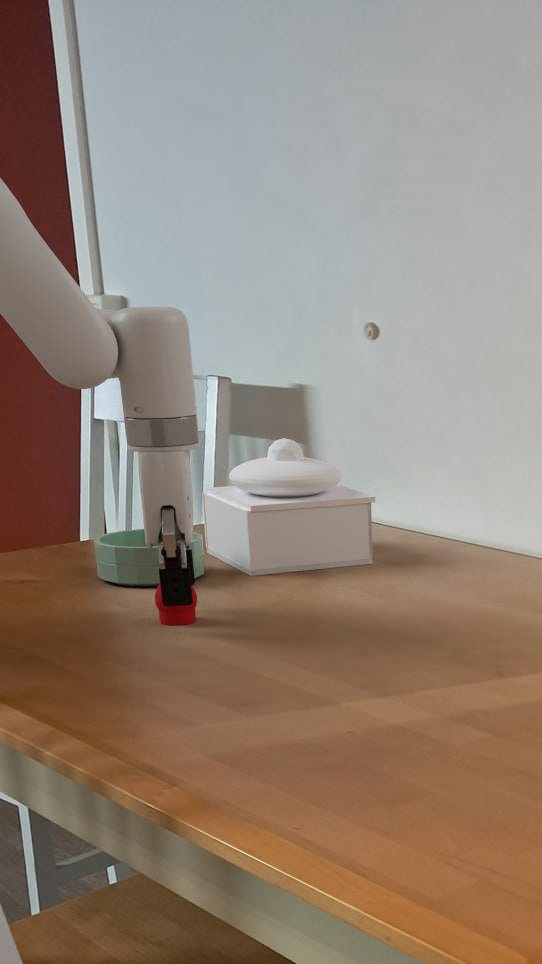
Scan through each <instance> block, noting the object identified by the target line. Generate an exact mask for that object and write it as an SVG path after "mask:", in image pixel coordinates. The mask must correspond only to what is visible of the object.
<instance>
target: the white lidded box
mask: <svg viewBox="0 0 542 964" xmlns="http://www.w3.org/2000/svg"><path fill="white" fill-rule="evenodd" d="M228 479H229V481H230V483H231V484H232V485H226V486H213V487H205V490H206V491H205V492H201V496H202V497H201V499H202V514H203V526H204V536H205V539H204V540H205V548H206V553H207V554H208V555H211V556H212V557H214V558H216V559H217V560H219V561H221V562H223V563H225V564H227V565H229V566H231V567H233V568H235V569H237V570H239V571H240V572H242V573H244V574H246V575H248V576H250V577H254V576H264V575H265V576H266V575H273V574H274V575H275V574H285V573H295V572H304V571H313V570H322V569H324V570H325V569H335V568H343V567H354V566H362V565H363V566H364V565H373V563H374V560H373V559H374V558H373V557H374V556H373V555H374V554H373V520H372V518H373V517H372V503H373V504H374V503H376V496H375V495H371V494H369V493H365V492H362V491H359V490H356V489H352V488H350V487H346V486H343V485H340V484H339V483H340V481H341V479H342V474H341V472H340V470H338V469H337V468H336V467H335V465H332V464H330V463H329V462H326V461H323V460H320V459H316V458H312V457H305V456H304V452H303V448H302V447H301V446H300V445H299V444H298V443H297V441H296V440H293V439H290V438H286V437H283V438H280V439H277V440H275V441H274V442H272V444H271V445H270V446H269V447H268V450H267V456H266V457H265V456H264V457H260V458H259V457H258V458H255V459H251V460H248V461H245V462H243V463H240V464H238V465H237V466H235V467H233V469H231V471H230V472H229V475H228Z"/></svg>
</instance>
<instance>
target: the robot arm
mask: <svg viewBox="0 0 542 964" xmlns="http://www.w3.org/2000/svg"><path fill="white" fill-rule="evenodd" d="M184 313H185V312H184V311H182V310H181V309H178V308H177V307H172V306H133V307H124V308H121V309H119V310H118V309H104V308H103V309H102V308H97V307H96V306H95V305H94V304H93V302H92V301H91V300H90V298H89V297H88V296H87V294H86V293H85V292H84V290H83V289H82V288H81V287H80V285H78V283H77V281H76V280H75V279H74V277H72V275H71V274H70V273H69V271H68V270H67V269H66V267H65V266H64V265H63V263H62V262H61V261H60V259H59V258H58V256H56V255H55V253H54V251H53V250H52V249H51V248H50V247H49V245H48V243H46V241H45V240H44V239H43V238H42V236H41V234H40V233H39V231H38V230H37V229H36V227H35V226H34V225H33V223H32V222H31V220H30V219H29V217H28V215H27V213H26V212H25V210H24V208H23V207H22V205H21V204H20V202H19V200H18V199H17V198H16V196H15V195H14V193H12V191H11V190H10V188H9V187H8V185H6V183H5V181H4V180H3V179H2V178H1V177H0V315H1V316H2V317H3V318H4V320H5V321H6V322H7V323H8V326H10V327H11V328H12V329H13V331H14V332H15V334H16V335H17V336H18V337H19V338H20V340H21V341H22V342H23V344H24V345H25V346H26V347H27V348H28V350H29V351H30V352H31V353H32V354H33V356H34V357H35V358H36V360H37V361H38V362H39V363H40V364H41V366H42V367H43V369H44V370H45V371H46V372H47V373H48V374H49V375H50V377H51V378H53V379H54V380H55V381H56V382H58V383H60V384H61V385H63V386H65V387H68V388H71V389H75V390H89V389H93V388H96V387H98V386H101V385H102V384H104V383H105V382H106V381H107V380H111V379H118V381H119V387H120V394H121V405H122V412H123V423H124V430H125V431H124V432H125V439H126V447H127V449H126V450H128V451H130V452H135V453H137V463H138V464H137V465H138V479H139V492H140V501H141V510H142V519H143V529H144V533H145V544H146V546H147V547H149V548H152V547H153V544H156V543H157V540H158V545H159V559H160V568H159V577H160V586H161V595H162V603H163V605H164V606H185V605H192V603H193V596H192V586H194V585H195V584H196V578H195V577H194V567H193V557H192V549H190V546H189V545H190V544H191V542H192V536H193V531H194V496H193V495H194V493H193V482H192V469H191V459H190V451H192V450H196V449H200V448H201V445H200V444H201V443H200V432H199V421H198V414H197V413H198V411H197V405H196V404H197V402H196V401H197V400H196V391H195V379H194V370H193V368H194V367H193V358H192V349H191V347H192V346H191V337H190V329H189V321H188V318H187V317H186V315H185V314H184ZM162 537H163V539H162ZM186 549H188V550H186ZM191 585H192V586H191Z"/></svg>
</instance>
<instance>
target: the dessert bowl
mask: <svg viewBox="0 0 542 964" xmlns="http://www.w3.org/2000/svg"><path fill="white" fill-rule="evenodd" d="M162 539H163V537H162ZM93 544H94V554H95V562H96V572H97V578H99V579H101V580H103V581H105V582H110V583H113V584H117V585H122V586H128V587H158V586H159V585H160V577H159V568H160V559H159V545H158V540H157V543H156V544H153V547H152V548H149V547H147V546H146V544H145V533H144V528H136V529H127V530H119V531H118V530H117V531H113V532H107V533H103V534H101V535H98V536H96V537H95V538H94V541H93ZM189 546H190V549H192V557H193V567H194V577H195V579H198V578H200V577H202V576H203V575H205V573H206V572H205V571H206V569H205V557H204V556H205V555H204V544H203V534H201V533H198V532H196V531H194V530H193V536H192V542H191V544H190V545H189ZM186 550H188V549H186Z"/></svg>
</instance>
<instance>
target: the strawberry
mask: <svg viewBox="0 0 542 964" xmlns="http://www.w3.org/2000/svg"><path fill="white" fill-rule="evenodd" d="M191 586H192V596H193V603H192V605H185V606H164V605H163V603H162V595H161V586H160V585H159V586H156V589H155V593H154V603H155V606H156V608H157V610H158V617H159V623H160V624H162V625H167V626H184V625H190V624H192V623H195V622H197V613H196V608H197V604H198V594H197V592H196V589H195V588H194V585H191Z"/></svg>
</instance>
